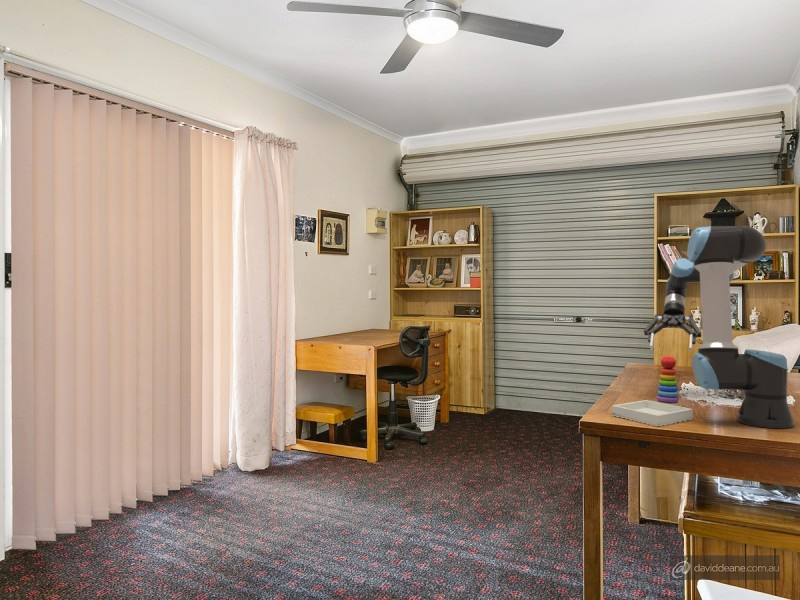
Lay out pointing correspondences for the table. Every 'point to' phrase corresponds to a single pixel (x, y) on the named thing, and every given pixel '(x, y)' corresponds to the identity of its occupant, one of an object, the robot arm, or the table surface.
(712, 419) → the table surface
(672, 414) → the tray
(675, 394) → the stacking toy
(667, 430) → the table surface
